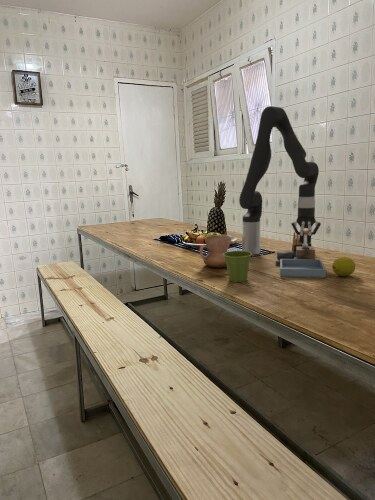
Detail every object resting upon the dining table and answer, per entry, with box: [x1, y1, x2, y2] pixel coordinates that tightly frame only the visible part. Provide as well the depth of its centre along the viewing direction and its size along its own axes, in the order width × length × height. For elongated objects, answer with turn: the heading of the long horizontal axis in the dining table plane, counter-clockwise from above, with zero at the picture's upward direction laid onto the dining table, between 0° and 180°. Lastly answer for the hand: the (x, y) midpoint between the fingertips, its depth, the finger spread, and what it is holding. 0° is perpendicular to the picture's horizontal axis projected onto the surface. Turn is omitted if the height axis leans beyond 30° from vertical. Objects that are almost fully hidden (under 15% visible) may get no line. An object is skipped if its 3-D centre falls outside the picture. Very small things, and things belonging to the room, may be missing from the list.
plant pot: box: [223, 250, 253, 283], centre depth 156 cm, size 12×12×11 cm
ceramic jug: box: [199, 234, 236, 269], centre depth 181 cm, size 18×14×14 cm
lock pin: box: [302, 229, 309, 249], centre depth 179 cm, size 3×3×12 cm
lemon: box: [331, 256, 356, 277], centre depth 156 cm, size 11×8×8 cm
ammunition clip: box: [291, 231, 312, 254], centre depth 199 cm, size 11×2×12 cm, turn 105°
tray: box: [279, 258, 327, 279], centre depth 166 cm, size 18×18×4 cm
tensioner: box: [275, 246, 316, 266], centre depth 181 cm, size 18×12×7 cm, turn 77°
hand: (305, 243), depth 179 cm, fingers closed on lock pin, 2 cm apart
